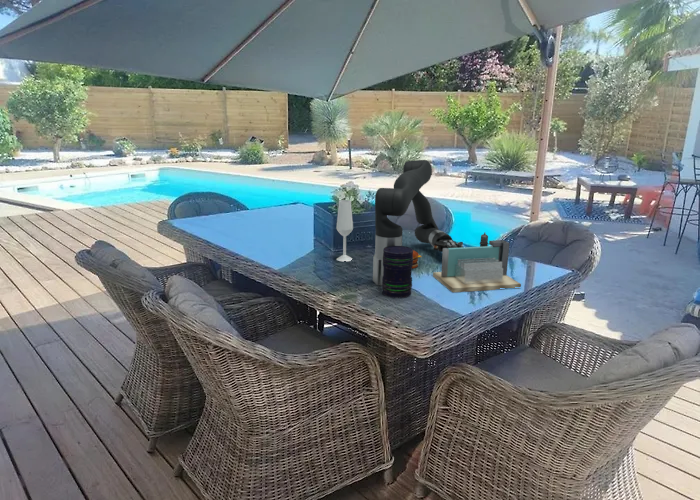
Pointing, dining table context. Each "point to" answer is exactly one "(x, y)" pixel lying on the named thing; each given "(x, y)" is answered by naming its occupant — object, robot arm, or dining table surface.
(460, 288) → the mounting board
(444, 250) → the teal upright panel
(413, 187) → the robot arm
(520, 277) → the dining table surface
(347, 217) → the champagne flute
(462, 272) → the cooler block
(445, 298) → the dining table surface
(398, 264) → the storage jar
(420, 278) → the dining table surface
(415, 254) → the hamburger
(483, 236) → the chess piece
